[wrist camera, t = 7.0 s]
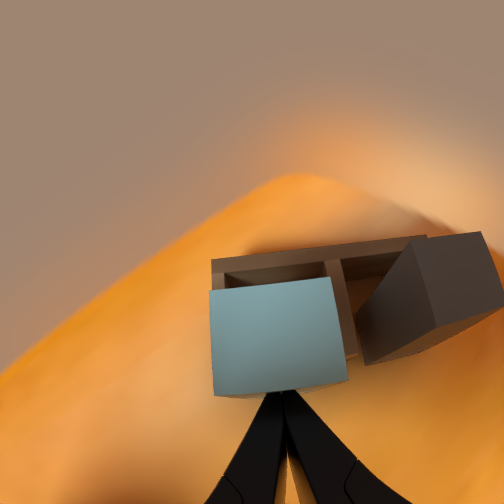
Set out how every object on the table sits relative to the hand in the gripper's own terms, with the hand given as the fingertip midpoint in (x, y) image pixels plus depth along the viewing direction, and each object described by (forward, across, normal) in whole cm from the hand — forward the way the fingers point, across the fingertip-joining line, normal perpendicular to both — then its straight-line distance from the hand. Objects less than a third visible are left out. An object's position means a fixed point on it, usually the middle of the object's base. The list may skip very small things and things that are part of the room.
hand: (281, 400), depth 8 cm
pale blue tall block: (+6, 0, +4) cm, 7 cm away
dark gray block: (+7, -6, +3) cm, 10 cm away
